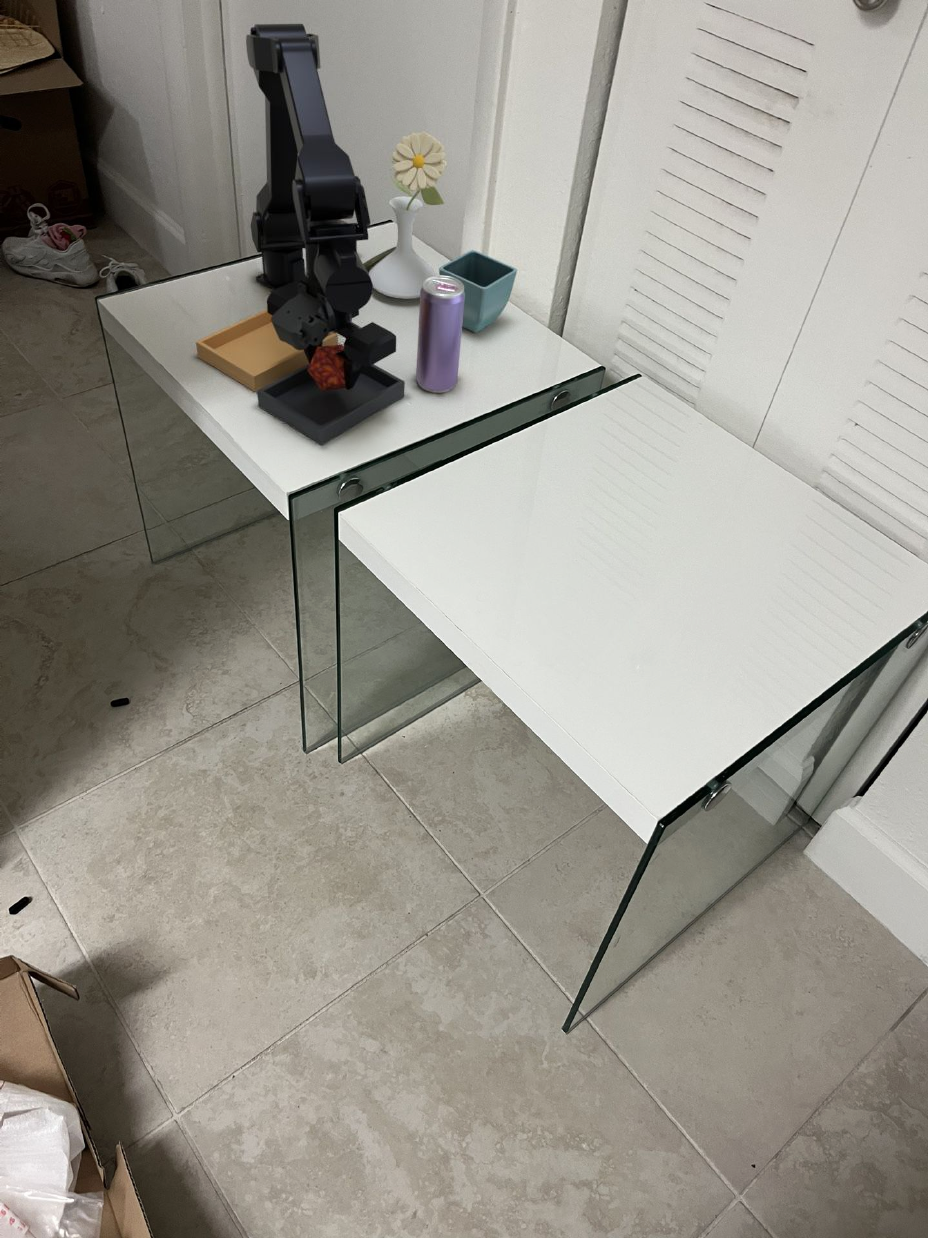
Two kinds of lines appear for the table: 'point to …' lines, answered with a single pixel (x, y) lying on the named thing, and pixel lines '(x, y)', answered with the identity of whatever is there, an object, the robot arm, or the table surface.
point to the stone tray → (329, 401)
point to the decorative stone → (328, 368)
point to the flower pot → (481, 287)
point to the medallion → (377, 258)
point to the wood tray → (254, 352)
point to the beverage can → (439, 333)
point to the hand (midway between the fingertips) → (332, 378)
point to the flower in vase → (410, 215)
